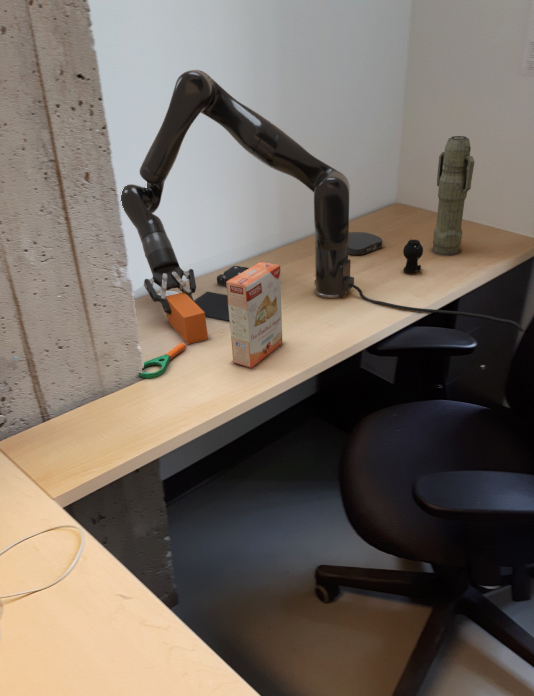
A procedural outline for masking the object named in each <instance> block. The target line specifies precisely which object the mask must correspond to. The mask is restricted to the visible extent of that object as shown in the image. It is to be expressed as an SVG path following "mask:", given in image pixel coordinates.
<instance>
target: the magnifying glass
mask: <svg viewBox="0 0 534 696" xmlns="http://www.w3.org/2000/svg"><path fill="white" fill-rule="evenodd" d="M186 348H187V345H186V344H185V343H183V342H180V343H179V344H177V345H176V346H174V347H173V348H172V349H170V350H169V351H167V352H166V353H165V354H162V355H160V356H157V357H155V358H151V359H149V360H147V361H144V362H143V363H144V368H143V369H145V368H146V367H149V366H153V365H156V366H160V367H161V368H160V369H158V370H157V371H153V372H145V371H143V372H144V373H142V374H141V373H139V372H138V375H139V377H141V378H144V379H153V378H156V377H159V376H162V375H163V374H164V373H165V372H166V370H167V367H168V366H169V363H170V361H171V360H172V359H173V358H174V357H176V356H177V355H178V354H181V352H182V351H184V350H185V349H186Z"/></svg>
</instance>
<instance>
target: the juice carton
mask: <svg viewBox="0 0 534 696" xmlns="http://www.w3.org/2000/svg"><path fill="white" fill-rule="evenodd" d="M166 299H167V300H168V303H169V306H170V309H171V314H169V315H168V313H165V314H166V315H165V316H166V317H167V319H168V324H170V325H171V326H172V327H173V329H174V330H175V331H176V332H177V333H178V335H179V336H180V337H181V338H182V339H183V340H184V342H185V343H186V344H187V345H192V344H195V343H198V342H202V341H205V340H209V334H208V327H207V321H206V320H207V319H206V318H207V317H205V312H204V311H203V310H202V309H201V308H200V307H199V306H198V305H197V304H196V303H195V302H194V301H195V300H194V299H193V300H194V301H193V300H192V299H191V298H190V297H189V296H188V295H187V294H186V293H185V292H182V291H181V292H178V293H174V294H170V295H166Z"/></svg>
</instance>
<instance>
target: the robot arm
mask: <svg viewBox="0 0 534 696" xmlns="http://www.w3.org/2000/svg"><path fill="white" fill-rule="evenodd" d="M200 114H202V115H204V116H206V117H207V118H209V119H211V120H212V121H214V122H215V123H217V124H218V125H219V126H221V127H222V128H223V129H224V130H225V131H226V132H228V133H229V135H230V136H231V137H232V138H233V139H234V140H235V141H236V142H237V143H238V144H239V145H240V146H241V147H242V148H243V149H244V150H245V151H246V152H247V153H248V154H250V155H252V156H253V158H256V159H257V160H258V161H259V162H261V163H263V164H264V165H265V166H267V167H269V168H271V169H273V170H275V171H277V172H280V173H281V174H285V175H288V176H290V177H292V178H293V179H296V180H298V181H299V182H300V183H301V184H303V185H304V186H306V188H308V189H309V190H310V191H311V192H312V193H313V225H314V244H315V245H314V253H315V255H314V256H315V257H314V261H315V262H314V263H315V268H314V269H315V279H314V285H315V290H314V291H315V292H314V293H315V294H316V295H317V296H318V297H321V298H324V299H343V298H344V297H345V296H347V294H348V293H350V291H351V289H355V291H357V292H358V294H359V296H360V298H361V299H362V300H364V301H365V302H369V303H372V304H374V305H380V306H385V307H389V308H394V309H398V310H403V311H411V312H420V313H430V314H443V315H453V316H464V317H472V318H478V319H482V320H489V321H493V322H497V323H503V324H508V325H512V326H515V328H516V329H518V330H519V332H522V333H523V332H525V330H524V329H523V327H522V326H521V325H520V324H519V323H518V322H517V321H515V320H510V319H504V318H499V317H495V316H490V315H485V314H479V313H473V312H472V313H471V312H465V311H455V310H443V309H442V310H441V309H432V308H421V307H412V306H406V305H399V304H394V303H390V302H387V301H386V302H385V301H381V300H375V299H370V298H368V297H366V296H365V295H364V294H363V291H362V289H361V288H360V287H359V286H357V285H355V277H354V276H351V259H350V258H349V254H348V236H349V231H350V193H351V192H350V190H351V188H350V186H351V185H350V181H349V180H348V178H347V177H346V176H345V174H344V173H343V172H341V171H340V170H337V169H336V168H334V167H332V166H331V165H329V164H327V163H326V162H324V161H322V160H320V159H318V158H317V157H315V156H314V155H313V154H311V153H310V152H309V151H307V150H306V149H305V148H304V147H303V146H302V145H301V144H299V142H297V141H296V140H294V139H293V138H292V137H291V136H290V135H288V134H287V133H286V132H285V131H283V130H282V129H281V128H279V126H277V125H276V124H275V123H273V122H271V121H270V120H268V119H267V118H266V117H264V116H263V115H261V114H259V113H258V112H257V111H255V110H253V109H252V108H250V107H249V106H246V105H245V104H243V103H241V102H240V101H238V100H237V99H236V98H234V97H233V96H232V95H231V94H230V93H229V92H227V91H226V90H225V89H224V88H223V87H222V86H221V85H220V84H219V83H218V82H217V81H215V80H214V79H213V78H212V77H211V76H210V75H209V74H208V73H207V72H205V71H203V70H199V69H191V70H187V71H184V72H183V73H181V74H180V75H179V76H178V77H177V79H176V81H175V85H174V88H173V91H172V95H171V98H170V102H169V105H168V108H167V111H166V114H165V116H164V119H163V121H162V124H161V126H160V127H159V129H158V132H157V134H156V135H155V138H154V139H153V142H152V143H151V145H150V146H149V149H148V151H147V152H146V155H145V157H144V160H143V162H142V164H141V166H140V167H139V175H140V177H141V178H142V179H143V180H144V181H145V182H147V188H145V186H141V185H137V184H130V183H129V184H126V185H127V186H126V185H125V186H123V188H124V189H123V188H122V189H123V191H122V190H121V191H122V195H121V200H120V202H121V201H122V205H121V207H122V206H123V207H122V209H123V208H124V209H123V211H124V213H125V215H126V216H127V217H128V219H129V221H130V222H131V224H132V225H133V226H134V227H135V229H136V230H137V234H138V236H139V239H140V242H141V244H142V249H143V253H144V257H145V258H146V262H147V263H148V267H149V269H150V271H151V274H152V277H150V278H145V279H144V280H143V287H144V289H145V290H146V291H147V293H148V296H149V297H150V298H151V301H152V302H154V303H156V302H158V303H161V306H162V308H163V309H162V310H163V312H164V313H165V314H166V313H168V315H169V314H171V309H170V306H169V303H168V300H167V299H166V296H167V291H170V290H171V289H178V290H179V291H180V292H181V293H182V292H185V293H186V294H187V295H188V296H189V297H190V298H191V299H192V300H193V301H195V300H194V298H193V294H195V293H196V290H197V283H196V277H195V271H194V269H193V268H189V269H188V270H183V268H181V266H180V264H179V260H178V258H177V256H176V253H175V250H174V248H173V245H172V242H171V240H170V238H169V237H168V234H167V232H166V229H165V226H164V223H163V221H162V219H161V218H160V217H159V216H157V215H156V214H154V213H155V212H156V211H157V210H158V209H159V208H160V207H159V206H160V204H161V200H162V196H163V191H164V186H165V182H166V181H167V178H168V176H169V174H170V173H171V171H172V169H173V167H174V164H175V163H176V160H177V158H178V155H179V152H180V150H181V147H182V145H183V142H184V139H185V137H186V135H187V134H188V131H189V129H190V128H191V126H192V124H193V123H194V121H196V119H197V117H198V116H199V115H200ZM183 277H185V278H186V279H187V280H188V285H189V286H188V285H187V283H186V282H185V281H184V280H183ZM154 284H155V285H157V286H158V287H160V293H159V294H158V293H157V291H156V289H155V288H154Z"/></svg>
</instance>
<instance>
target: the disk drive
mask: <svg viewBox="0 0 534 696" xmlns="http://www.w3.org/2000/svg"><path fill="white" fill-rule="evenodd" d="M249 268H250V267H247V266H241V265H233V266H231V267H230V268H228V269H226V270H225V271H223V274H221V273H220V274H219V275H217V276H216V283H217V285H220V286H225V287H227V284H226V282H227V281H228V280H230V279H232V278H234V277H235V276H237V275H239V274H240V273H242V272H244V271H246V270H247V269H249Z"/></svg>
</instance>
